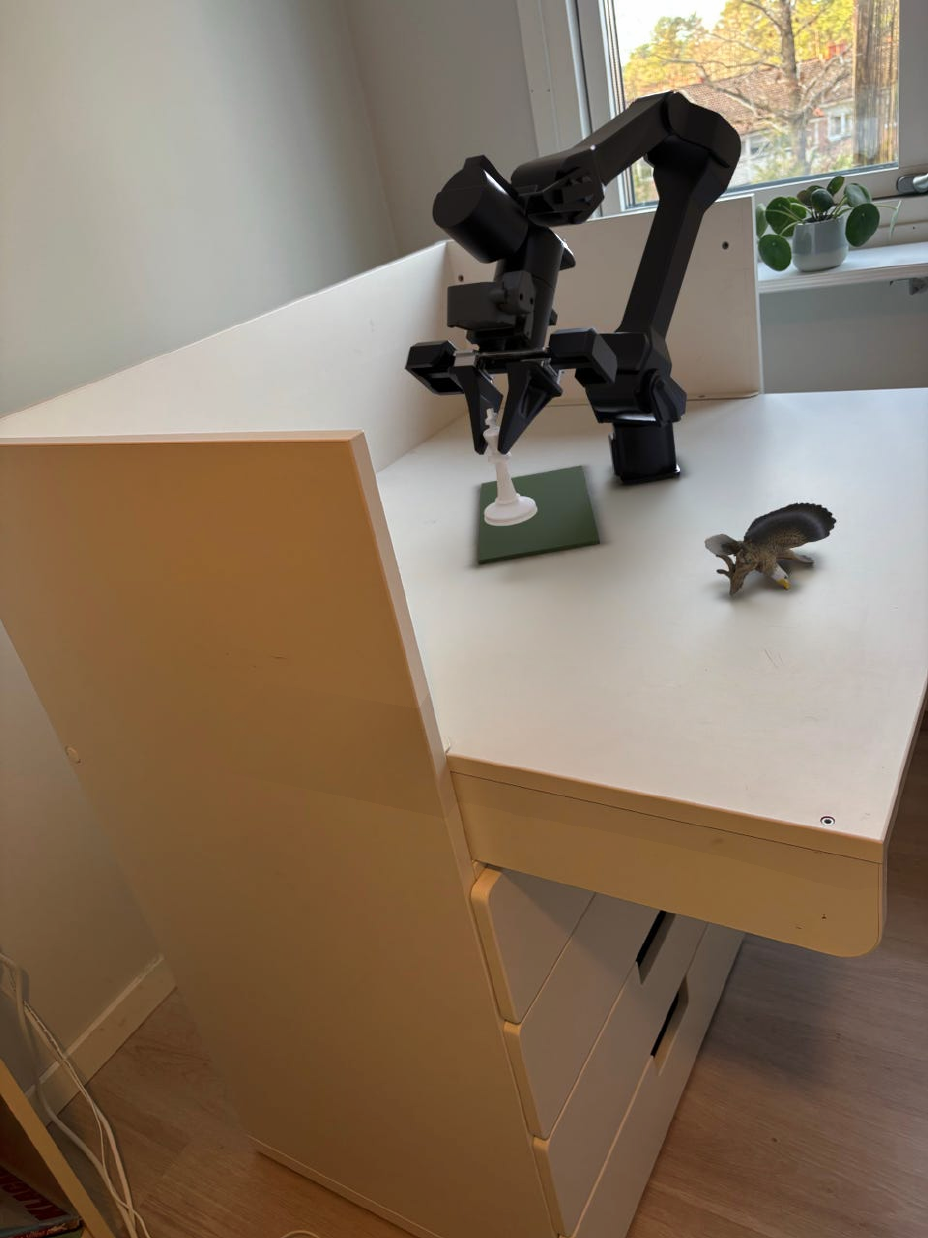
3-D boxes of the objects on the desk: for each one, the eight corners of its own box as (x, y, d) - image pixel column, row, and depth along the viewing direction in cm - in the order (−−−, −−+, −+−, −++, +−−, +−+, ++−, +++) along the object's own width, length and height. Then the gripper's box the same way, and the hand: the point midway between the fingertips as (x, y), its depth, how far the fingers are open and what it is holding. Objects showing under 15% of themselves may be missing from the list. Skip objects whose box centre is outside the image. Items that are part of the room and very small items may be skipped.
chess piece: (545, 502, 86) (525, 397, 81) (526, 525, 82) (504, 417, 77) (496, 503, 88) (475, 401, 83) (476, 526, 84) (452, 421, 80)
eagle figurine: (785, 604, 71) (858, 541, 74) (730, 529, 71) (806, 469, 74) (731, 622, 78) (799, 564, 81) (681, 553, 78) (751, 498, 81)
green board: (581, 468, 110) (581, 465, 109) (600, 543, 90) (599, 539, 90) (482, 486, 111) (481, 483, 111) (478, 564, 92) (478, 560, 91)
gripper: (389, 252, 82) (351, 417, 79) (583, 222, 72) (547, 408, 69) (453, 318, 91) (420, 467, 88) (632, 298, 81) (601, 465, 79)
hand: (490, 452), depth 81 cm, fingers closed on chess piece
